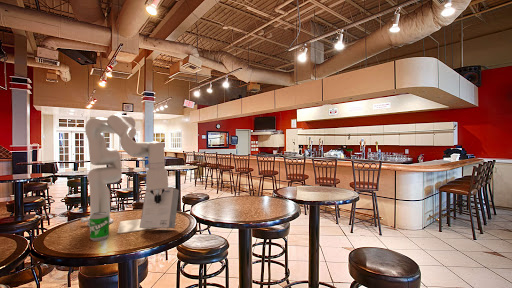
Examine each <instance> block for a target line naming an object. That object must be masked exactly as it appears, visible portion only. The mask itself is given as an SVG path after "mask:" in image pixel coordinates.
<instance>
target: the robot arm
mask: <svg viewBox="0 0 512 288" xmlns="http://www.w3.org/2000/svg"><path fill="white" fill-rule="evenodd" d="M135 127H136V121H135V118H134V117H132V116H130V115H124V114H116V113H115V114H112V115H109V116H108V117H92V118H89V119H88V120H87V121H86V123H85V127H84V128H85V129H84V130H85V135H86V138H87V141H88V152H89V153H88V156H89V161H90V164H91V165H93V166H103V167H97V168H96V167H95V168H93V169H91V170H90V171H89V172H88V173H87V180H88V186H89V200H90V201H89V205H90V206H89V209H90V210H89V211H90V212H89V216H88V217H84V218H83V217H82V218H80V222H81V223H86V226H87V227H89V228H90V216H91V215H92V214H93V213H96V212H107V213H108V214H109V225H110V224H112V223H114V218H111V193H110V188H109V187H108V186H107V185H108V184H113V183H118V182H119V181H120V180H121V179H122V176H123V173H122V172H123V171H122V158H121V154H120V152H119V151H118V150H117V149H116V148H107V141H106V138H105V137H104V136H103V134H115V135H117V136H118V137H119V139H120V140H119V143H120V146H121V148H122V150H123V151H124V152H125V153H126V154H127V155H128V156H130V157H132V158H146V157H147V158H148V159H147V160H148V163H147V164H145V165H144V166H145V168H148V169H147V170H146V179H145V180H146V181H145V184H146V185H145V186H146V187H145V192H149V193H152V194H153V195H154V201H155V202H156V204H157V203H160V201H161V194H162V193H163V192H164V191H167V190H169V188H170V187H169V178H168V177H169V176H168V170H167V168H165V167H166V165H165V144H164V142H163V141H151V142H147V141H146V142H145V141H135V140H133V139H134V138H135V136H136V135H137V130H136V129H137V128H135ZM105 166H106V167H105ZM157 189H159V193H158V196H157V194H156V190H157Z"/></svg>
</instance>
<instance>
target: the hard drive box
mask: <svg viewBox="0 0 512 288" xmlns="http://www.w3.org/2000/svg"><path fill="white" fill-rule="evenodd" d="M168 188H169V190H167V191H164V192H163V193H162V194H161V201H160V203H157V204H156V202H155V201H154V195H153V194H152V193H149V192H146V191H145V192H144V198H143V199H144V200H143V205H142V210H141V211H142V212H141V218H140V219H141V222H140V228H156V229H175V227H176V226H175V223H176V218H177V210H178V201H179V194H180V193H179V192H180V190H179V189H178V188H175V187H168ZM158 193H159V189H157V190H156V194H157V196H158Z"/></svg>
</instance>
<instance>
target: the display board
mask: <svg viewBox="0 0 512 288" xmlns="http://www.w3.org/2000/svg"><path fill="white" fill-rule="evenodd" d="M140 222H141V218H138V219H129V220H128V219H127V220H121V221H119V225H118V229H117V233H116V235H121V234H127V233H136V232H141V231H148V230H149V231H150V230H155V229H157V228H140ZM175 225H176V226H177V223H176V222H175Z"/></svg>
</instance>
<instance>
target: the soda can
mask: <svg viewBox="0 0 512 288" xmlns="http://www.w3.org/2000/svg"><path fill="white" fill-rule="evenodd" d="M89 217H90V227H89V239H90V240H92V241H93V242H99V241H104V240H106V239H107V238H108V237H109V235H110V228H109V227H110V224H109V214H108V213H107V212H96V213H93V214H92V215H91V216H90V215H89Z"/></svg>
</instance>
